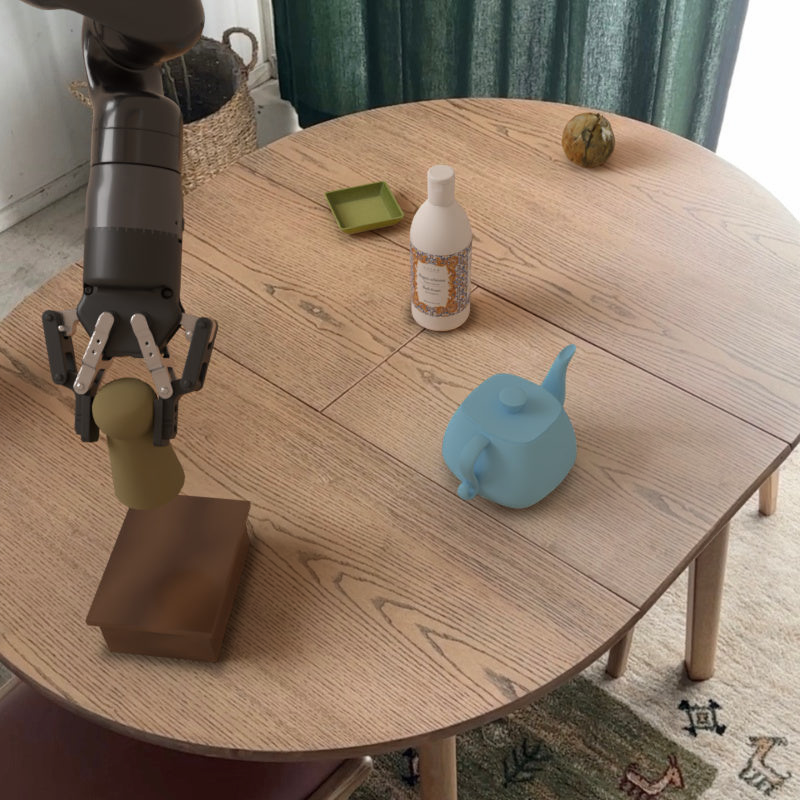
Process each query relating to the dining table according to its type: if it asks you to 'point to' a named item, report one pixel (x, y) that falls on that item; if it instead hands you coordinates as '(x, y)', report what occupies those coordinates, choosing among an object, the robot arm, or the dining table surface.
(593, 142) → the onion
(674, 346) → the dining table surface
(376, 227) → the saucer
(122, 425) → the olive pawn
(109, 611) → the lidded wooden box
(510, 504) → the teapot
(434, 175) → the bath foam
